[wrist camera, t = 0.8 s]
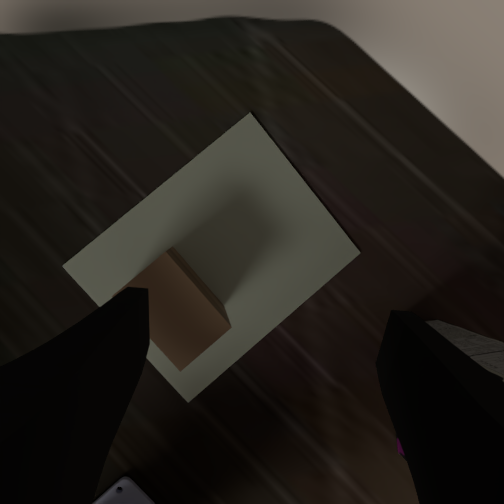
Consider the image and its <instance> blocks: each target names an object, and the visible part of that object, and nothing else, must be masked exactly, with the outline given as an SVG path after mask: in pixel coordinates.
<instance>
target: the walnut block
mask: <svg viewBox="0 0 504 504" xmlns="http://www.w3.org/2000/svg"><path fill="white" fill-rule="evenodd" d="M126 287H138V288H148V290H149V329H150V339H151V340H152V341H153V342H154V343H155V345H156V346H157V347H158V348H159V349H160V350H161V351H162V352H163V353H164V354H165V356H166V357H167V358H168V359H169V360H170V361H171V362H172V363H173V364H174V365H175V367H176V368H177V369H178V370H179V371H180V372H181V371H182V370H183V369H184V368H185V367H187V366H188V365H189V364H190V363H191V362H192V361H193V360H195V359H196V358H197V357H198V356H199V355H200V354H202V353H203V352H204V351H205V350H206V349H207V348H209V347H210V346H211V345H212V344H213V343H214V342H216V341H217V340H218V339H219V338H220V337H221V336H223V335H224V334H225V333H226V332H227V331H228V330H229V329H231V328H232V327H231V324H230V321H229V318H228V315H227V313H226V310H225V307H224V305H223V304H222V303H221V301H220V300H219V299H218V298H217V297H216V296H215V295H214V293H213V292H212V291H211V290H210V289H209V288H208V286H207V285H206V284H205V283H204V282H203V281H202V280H201V278H200V277H199V276H198V275H197V274H196V273H195V271H194V270H193V269H192V268H191V267H190V266H189V264H188V263H187V262H186V261H185V260H184V259H183V258H182V256H181V255H180V254H179V253H178V252H177V251H176V249H175V248H174V247H173V246H172V247H171V248H170V249H168V250H167V251H165V252H164V253H163V254H162V255H161V256H159V257H158V258H157V259H156V260H155V261H153V262H152V263H151V264H150V265H149V266H147V267H146V268H145V269H144V270H143V271H141V272H140V273H139V274H138V275H137V276H135V277H134V278H133V279H132V280H131V281H129V282H128V283H127V284H126V285H125V286H123V287H122V288H121V289H120V290H119V291H117V292H116V293H115V294H114V295H113V296H112V297H114V296H115V295H117V294H118V293H119V292H121V291H122V290H123V289H125V288H126Z"/></svg>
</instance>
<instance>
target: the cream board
mask: <svg viewBox="0 0 504 504" xmlns="http://www.w3.org/2000/svg"><path fill="white" fill-rule="evenodd" d="M172 246H173V247H174V248H175V249H176V251H177V252H178V253H179V254H180V255H181V256H182V258H183V259H184V260H185V261H186V262H187V263H188V264H189V266H190V267H191V268H192V269H193V270H194V271H195V273H196V274H197V275H198V276H199V277H200V278H201V280H202V281H203V282H204V283H205V284H206V285H207V286H208V288H209V289H210V290H211V291H212V292H213V293H214V295H215V296H216V297H217V298H218V299H219V300H220V301H221V303H222V304H223V305H224V307H225V310H226V313H227V315H228V318H229V321H230V324H231V327H232V328H231V329H229V330H228V331H227V332H226V333H225V334H224V335H223V336H221V337H220V338H219V339H218V340H217V341H216V342H214V343H213V344H212V345H211V346H210V347H209V348H207V349H206V350H205V351H204V352H203V353H202V354H200V355H199V356H198V357H197V358H196V359H195V360H193V361H192V362H191V363H190V364H189V365H188V366H187V367H185V368H184V369H183V370H182V371H181V372H180V371H179V370H178V369H177V368H176V367H175V365H174V364H173V363H172V362H171V361H170V360H169V359H168V358H167V357H166V356H165V354H164V353H163V352H162V351H161V350H160V349H159V348H158V347H157V346H156V345H155V343H154V342H153V341H152V340H151V339H150V345H149V349H148V353H147V356H146V358H147V359H148V360H149V361H150V362H151V363H152V364H153V365H154V366H155V368H156V369H157V370H158V371H159V372H160V373H161V374H162V375H163V376H164V377H165V378H166V379H167V381H168V382H169V383H170V384H171V385H172V386H173V387H174V388H175V389H176V390H177V391H178V393H179V394H180V395H181V396H182V397H183V398H184V399H185V400H186V401H187V402H190V401H191V400H192V399H193V398H194V397H195V396H197V395H198V394H199V393H200V392H201V391H202V390H203V389H205V388H206V387H207V386H208V385H209V384H210V383H211V382H213V381H214V380H215V379H216V378H217V377H218V376H220V375H221V374H222V373H223V372H224V371H225V370H226V369H228V368H229V367H230V366H231V365H232V364H233V363H235V362H236V361H237V360H238V359H239V358H240V357H241V356H243V355H244V354H245V353H246V352H247V351H248V350H249V349H251V348H252V347H253V346H254V345H255V344H256V343H258V342H259V341H260V340H261V339H262V338H263V337H264V336H266V335H267V334H268V333H269V332H270V331H271V330H272V329H274V328H275V327H276V326H277V325H278V324H279V323H281V322H282V321H283V320H284V319H285V318H286V317H287V316H289V315H290V314H291V313H292V312H293V311H294V310H296V309H297V308H298V307H299V306H300V305H301V304H302V303H304V302H305V301H306V300H307V299H308V298H309V297H310V296H312V295H313V294H314V293H315V292H316V291H317V290H319V289H320V288H321V287H322V286H323V285H324V284H325V283H327V282H328V281H329V280H330V279H331V278H332V277H333V276H335V275H336V274H337V273H338V272H339V271H340V270H342V269H343V268H344V267H345V266H346V265H347V264H348V263H350V262H351V261H352V260H353V259H354V258H355V257H356V256H358V255H359V254H360V252H359V250H358V249H357V248H356V246H355V245H354V244H353V243H352V241H351V240H350V239H349V238H348V236H347V235H346V234H345V232H344V231H343V230H342V229H341V227H340V226H339V225H338V224H337V222H336V221H335V220H334V218H333V217H332V216H331V215H330V213H329V212H328V211H327V210H326V208H325V207H324V206H323V204H322V203H321V202H320V201H319V199H318V198H317V197H316V196H315V194H314V193H313V192H312V190H311V189H310V188H309V187H308V185H307V184H306V183H305V182H304V180H303V179H302V178H301V176H300V175H299V174H298V173H297V171H296V170H295V169H294V168H293V166H292V165H291V164H290V162H289V161H288V160H287V159H286V157H285V156H284V155H283V154H282V152H281V151H280V150H279V148H278V147H277V146H276V145H275V143H274V142H273V141H272V140H271V138H270V137H269V136H268V134H267V133H266V132H265V131H264V129H263V128H262V127H261V126H260V124H259V123H258V122H257V120H256V119H255V118H254V117H253V115H252V114H251V113H249V114H248V115H246V116H245V117H244V118H243V119H241V120H240V121H239V122H238V123H237V124H235V125H234V126H233V127H232V128H230V129H229V130H228V131H227V132H226V133H224V134H223V135H222V136H221V137H219V138H218V139H217V140H216V141H215V142H213V143H212V144H211V145H210V146H208V147H207V148H206V149H205V150H204V151H202V152H201V153H200V154H199V155H197V156H196V157H195V158H194V159H193V160H191V161H190V162H189V163H188V164H186V165H185V166H184V167H183V168H182V169H180V170H179V171H178V172H177V173H175V174H174V175H173V176H172V177H171V178H169V179H168V180H167V181H166V182H164V183H163V184H162V185H161V186H159V187H158V188H157V189H156V190H155V191H153V192H152V193H151V194H150V195H148V196H147V197H146V198H145V199H144V200H142V201H141V202H140V203H139V204H137V205H136V206H135V207H134V208H133V209H131V210H130V211H129V212H128V213H126V214H125V215H124V216H123V217H122V218H120V219H119V220H118V221H117V222H115V223H114V224H113V225H112V226H111V227H109V228H108V229H107V230H106V231H104V232H103V233H102V234H101V235H100V236H98V237H97V238H96V239H95V240H93V241H92V242H91V243H90V244H89V245H87V246H86V247H85V248H84V249H82V250H81V251H80V252H79V253H78V254H76V255H75V256H74V257H73V258H71V259H70V260H69V261H68V262H66V263H65V264H64V265H63V266H62V267H63V268H64V269H65V270H66V271H67V272H68V273H69V274H70V275H71V276H72V277H73V278H74V280H75V281H76V282H77V283H78V284H79V285H80V286H81V287H82V288H83V289H84V290H85V292H86V293H87V294H88V295H89V296H90V297H91V298H92V299H93V300H94V301H95V302H96V303H97V305H98V306H99V307H101V306H102V305H103V304H105V303H106V302H107V301H109V300H110V299H111V298H113V297H112V296H113V295H114V294H115V293H116V292H117V291H119V290H120V289H121V288H122V287H123V286H125V285H126V284H127V283H128V282H129V281H131V280H132V279H133V278H134V277H135V276H137V275H138V274H139V273H140V272H141V271H143V270H144V269H145V268H146V267H147V266H149V265H150V264H151V263H152V262H153V261H155V260H156V259H157V258H158V257H159V256H161V255H162V254H163V253H164V252H165V251H167V250H168V249H170V248H171V247H172Z"/></svg>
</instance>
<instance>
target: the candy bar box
mask: <svg viewBox="0 0 504 504" xmlns="http://www.w3.org/2000/svg"><path fill="white" fill-rule="evenodd" d="M425 322H426V323H428V324H429V325H430V326H431V327H433V328H434V329H435V330H436V331H438V332H439V333H440V334H441V335H443V336H444V337H445V338H446V339H448V340H449V341H450V342H451V343H453V344H454V345H455V346H456V347H458V348H459V349H460V350H461V351H463V352H464V353H465V354H466V355H468V356H469V357H470V358H472V359H473V360H474V361H476V362H477V363H478V364H480V365H481V366H482V367H484V368H485V369H486V370H488V371H489V372H491V373H492V374H493V375H495V376H496V377H498V378H499V379H500V380H502V381H503V382H504V342H501V341H498V340H495V339H491V338H489V337H486V336H483V335H481V334H478V333H475V332H472V331H469V330H466V329H464V328H461V327H458V326H455V325H452V324H449V323H446V322H444V321H440V320H429V321H425ZM396 436H397V433H396ZM397 448H398V453H399V454H400V455H401V456H402V457H403V458H404V459H405V460H406V458H405V455H404V452H403V449H402V447H401V444H400V441H399V439H398V436H397ZM406 461H407V460H406Z"/></svg>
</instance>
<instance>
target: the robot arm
mask: <svg viewBox="0 0 504 504" xmlns="http://www.w3.org/2000/svg"><path fill="white" fill-rule="evenodd" d="M149 345H150V329H149V290H148V288H138V287H126V288H125V289H123V290H122V291H121V292H119V293H118V294H117V295H115V296H114V297H113V298H111V299H110V300H109V301H107V302H106V303H105V304H103V305H102V306H101V307H99V308H98V309H96V310H95V311H94V312H92V313H91V314H89V315H88V316H87V317H85V318H84V319H82V320H81V321H80V322H78V323H76V324H75V325H73V326H72V327H70V328H69V329H67V330H66V331H64V332H63V333H61V334H59V335H58V336H56V337H55V338H53V339H52V340H50V341H48V342H47V343H45V344H43V345H41V346H40V347H38V348H36V349H34V350H32V351H31V352H29V353H27V354H25V355H23V356H21V357H19V358H17V359H15V360H13V361H11V362H9V363H7V364H5V365H3V366H1V367H0V504H155V503H154V502H153V501H152V500H151V499H150V498H149V497H148V496H147V495H146V494H145V493H144V492H143V491H142V490H141V489H140V488H139V487H138V485H137V484H136V483H135V482H134V481H133V480H132V479H131V478H129V477H126V476H125V477H122V478H121V479H119V480H118V481H117V482H116V483H115V484H114V485H113V486H111V487H110V488H109V489H108V490H107V491H106V492H105V493H103V494H102V495H101V496H100V497H99V498H98V499H97V500H95V501H94V502H93V503H92V501H93V498H94V495H95V491H96V488H97V485H98V482H99V479H100V476H101V473H102V469H103V466H104V463H105V460H106V457H107V455H108V452H109V449H110V447H111V444H112V442H113V439H114V437H115V435H116V432H117V430H118V428H119V425H120V423H121V421H122V418H123V416H124V414H125V412H126V409H127V407H128V405H129V402H130V400H131V398H132V395H133V393H134V391H135V388H136V386H137V384H138V381H139V379H140V376H141V374H142V370H143V367H144V364H145V360H146V356H147V353H148V349H149ZM376 368H377V373H378V378H379V382H380V387H381V391H382V395H383V398H384V401H385V403H386V406H387V409H388V412H389V415H390V417H391V420H392V423H393V425H394V428H395V431H396V433H397V436H398V439H399V441H400V444H401V447H402V449H403V452H404V455H405V458H406V460H407V463H408V466H409V469H410V472H411V475H412V478H413V481H414V484H415V488H416V492H417V495H418V499H419V503H420V504H504V382H503V381H502V380H500V379H499V378H498V377H496V376H495V375H493V374H492V373H491V372H489V371H488V370H486V369H485V368H484V367H482V366H481V365H480V364H478V363H477V362H476V361H474V360H473V359H472V358H470V357H469V356H468V355H466V354H465V353H464V352H463V351H461V350H460V349H459V348H458V347H456V346H455V345H454V344H453V343H451V342H450V341H449V340H448V339H446V338H445V337H444V336H443V335H441V334H440V333H439V332H438V331H436V330H435V329H434V328H433V327H431V326H430V325H429V324H428V323H426V322H425V321H424V320H422V319H421V318H420V317H418V316H417V315H416V314H414V313H413V312H407V311H396V310H391V313H390V317H389V320H388V323H387V327H386V330H385V334H384V337H383V340H382V344H381V347H380V350H379V354H378V357H377V361H376ZM117 487H122V488H123V489H122V490H118V489H117Z"/></svg>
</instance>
